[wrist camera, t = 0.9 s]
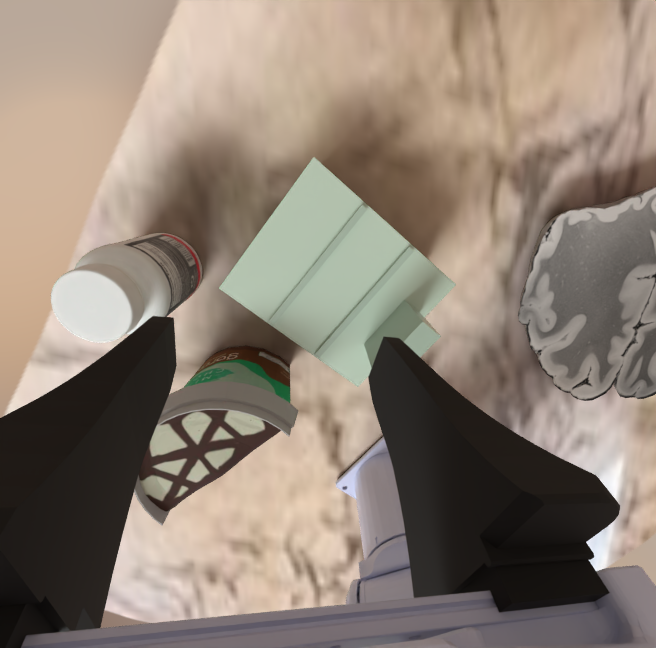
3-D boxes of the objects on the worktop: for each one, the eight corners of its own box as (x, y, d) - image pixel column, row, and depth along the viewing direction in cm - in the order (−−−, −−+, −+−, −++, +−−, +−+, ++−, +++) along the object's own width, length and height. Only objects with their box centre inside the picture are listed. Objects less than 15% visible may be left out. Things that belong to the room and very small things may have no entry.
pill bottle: (145, 304, 27) (59, 360, 18) (123, 236, 25) (14, 260, 16) (211, 296, 27) (159, 349, 18) (194, 227, 25) (126, 247, 16)
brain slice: (480, 381, 31) (496, 400, 28) (524, 183, 25) (550, 181, 22) (683, 383, 32) (717, 401, 29) (773, 191, 26) (828, 191, 23)
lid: (452, 282, 22) (485, 303, 18) (356, 382, 25) (365, 422, 20) (313, 157, 19) (313, 147, 15) (221, 285, 22) (197, 308, 17)
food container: (253, 303, 27) (221, 359, 18) (302, 355, 29) (296, 431, 20) (151, 387, 30) (77, 475, 21) (203, 430, 32) (156, 529, 22)
